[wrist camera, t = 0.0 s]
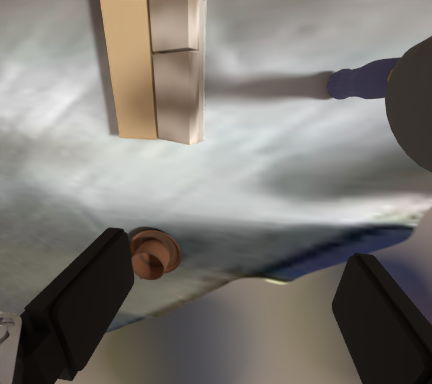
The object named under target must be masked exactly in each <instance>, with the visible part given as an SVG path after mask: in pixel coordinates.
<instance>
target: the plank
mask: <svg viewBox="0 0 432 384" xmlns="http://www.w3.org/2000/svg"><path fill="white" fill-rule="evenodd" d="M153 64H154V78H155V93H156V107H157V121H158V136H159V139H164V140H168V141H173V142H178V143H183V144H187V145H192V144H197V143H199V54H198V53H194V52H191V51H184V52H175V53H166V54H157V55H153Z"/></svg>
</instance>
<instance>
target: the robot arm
mask: <svg viewBox="0 0 432 384" xmlns="http://www.w3.org/2000/svg"><path fill="white" fill-rule="evenodd" d="M133 284H134V272H133V266H132V259H131V253H130V246H129V240H128V234H127V233H126V232H124V230H123V229H120V228H108V229H106V230H105V231H104V232H103V233H102V234H101V235H100V236H99V237H98V238H97V239H96V240H95V241H94V242H93V243H92V244H91V245H90V246H89V247H88V248H86V249H85V250H84V251H83V252H82V253H81V254H80V255H79V256H78V257H77V258H76V259H75V260H74V261H73V262H72V263H71V264H70V265H69V266H68V267H67V268H66V269H65V270H64V271H62V272H61V273H60V274H59V275H58V276H57V277H56V278H55V279H54V280H53V281H52V282H51V283H50V284H49V285H48V286H47V287H46V288H45V289H44V290H43V291H42V292H41V293H40V294H38V295H37V296H36V297H35V298H34V299H33V300H32V301H31V302H30V303H29V304H28V305H27V306H26V307H25V308H24V309H25V311H24V312H23V313H22V314H21V315H20V316H19V315H18V314H16V313H2V314H0V384H54V383H55V382H56V380H57V379H63V380H68V381H72V380H73V379H74V377H75V376H76V374H77V372H78V371H81V370H82V369H83V368H84V367H85V366H86V364H87V362H88V361H89V359H90V357H91V356H92V354H93V352H94V351H95V349H96V347H97V345H98V344H99V342H100V340H101V339H102V337H103V335H104V334H105V332H106V330H107V329H108V327H109V325H110V324H111V322H112V320H113V319H114V317H115V315H116V313H117V312H118V310H119V308H120V307H121V305H122V303H123V302H124V300H125V298H126V297H127V295H128V293H129V291H130V290H131V288H132V286H133ZM332 310H333V314H334V316H335V318H336V321H337V323H338V326H339V328H340V330H341V333H342V335H343V337H344V340H345V343H346V345H347V347H348V350H349V352H350V355H351V357H352V359H353V362H354V364H355V367H356V369H357V372H358V374H359V376H360V379H361V381H362V383H363V384H432V325H431V324H430V323H429V322H428V320H427V319H426V318H425V317H424V316H423V314H422V313H421V312H420V311H419V310H418V308H417V307H416V306H415V305H414V303H413V302H412V301H411V300H410V299H409V298H408V296H407V295H406V294H405V293H404V292H403V290H402V289H401V288H400V287H399V285H398V284H397V283H396V282H395V280H394V279H393V278H392V277H391V276H390V274H389V273H388V272H387V271H386V270H385V268H384V267H383V266H382V265H381V264H380V262H379V261H378V260H377V259H376V257H375V256H373V255H370V254H361V253H355V254H354V255H353V256H350V257H349V259H348V261H347V264H346V267H345V270H344V272H343V275H342V278H341V280H340V283H339V286H338V289H337V291H336V294H335V297H334V299H333V302H332Z"/></svg>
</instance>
